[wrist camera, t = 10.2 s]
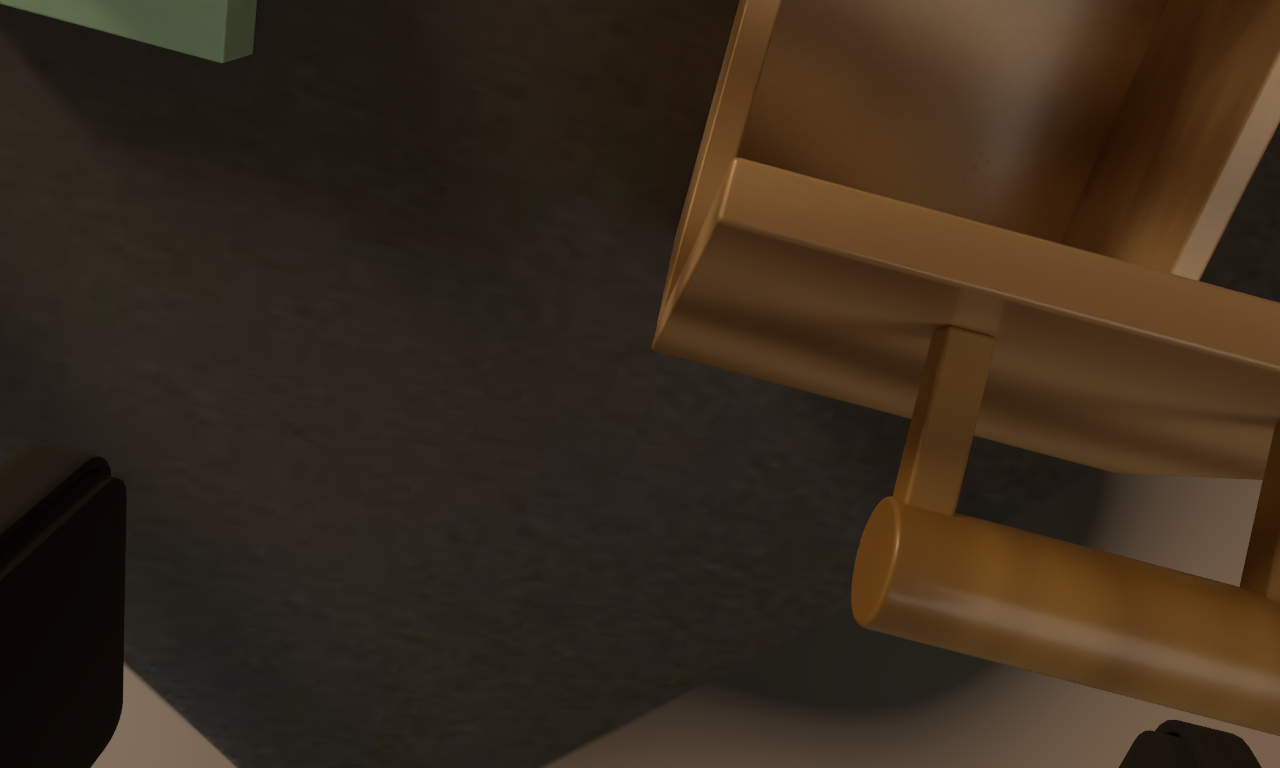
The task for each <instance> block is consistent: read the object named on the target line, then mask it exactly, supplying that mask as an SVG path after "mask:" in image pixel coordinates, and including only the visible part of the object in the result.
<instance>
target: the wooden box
mask: <svg viewBox="0 0 1280 768" xmlns="http://www.w3.org/2000/svg"><path fill="white" fill-rule="evenodd" d="M1279 122H1280V0H740V1H739V5H738V9H737V12H736V16H735V20H734V23H733V27H732V31H731V34H730V38H729V42H728V45H727V49H726V53H725V56H724V60H723V64H722V67H721V71H720V75H719V78H718V82H717V86H716V89H715V93H714V97H713V101H712V104H711V108H710V112H709V115H708V119H707V123H706V126H705V130H704V134H703V137H702V141H701V145H700V148H699V152H698V156H697V159H696V163H695V167H694V170H693V174H692V178H691V181H690V185H689V189H688V192H687V196H686V200H685V203H684V207H683V211H682V215H681V218H680V222H679V226H678V229H677V233H676V237H675V241H674V246H673V251H672V256H671V260H670V265H669V270H668V275H667V280H666V284H665V289H664V294H663V299H662V304H661V308H660V313H659V318H658V322H659V320H660V318H661V316H662V313H663V311H664V309H665V307H666V305H667V302H668V300H669V298H670V296H671V294H672V291H673V289H674V287H675V285H676V283H677V280H678V278H679V276H680V274H681V272H682V269H683V267H684V265H685V263H686V261H687V258H688V256H689V254H690V252H691V250H692V247H693V245H694V243H695V241H696V239H697V236H698V234H699V232H700V230H701V228H702V226H703V223H704V221H705V219H706V217H707V215H708V212H709V210H710V208H711V206H712V204H713V201H714V199H715V197H716V195H717V193H718V190H719V188H720V186H721V184H722V182H723V179H724V177H725V175H726V173H727V171H728V168H729V166H730V164H731V162H732V161H733V159H734V158H743V159H747V160H751V161H755V162H758V163H762V164H766V165H769V166H773V167H777V168H781V169H784V170H788V171H792V172H795V173H799V174H803V175H807V176H810V177H814V178H818V179H821V180H825V181H829V182H833V183H836V184H840V185H844V186H847V187H851V188H855V189H859V190H862V191H866V192H870V193H874V194H877V195H881V196H885V197H888V198H892V199H896V200H900V201H903V202H907V203H911V204H914V205H918V206H922V207H926V208H929V209H933V210H937V211H940V212H944V213H948V214H952V215H955V216H959V217H963V218H966V219H970V220H974V221H978V222H981V223H985V224H989V225H992V226H996V227H1000V228H1004V229H1007V230H1011V231H1015V232H1018V233H1022V234H1026V235H1030V236H1033V237H1037V238H1041V239H1045V240H1048V241H1052V242H1056V243H1059V244H1063V245H1067V246H1071V247H1074V248H1078V249H1082V250H1085V251H1089V252H1093V253H1097V254H1100V255H1104V256H1108V257H1111V258H1115V259H1119V260H1123V261H1126V262H1130V263H1134V264H1137V265H1141V266H1145V267H1149V268H1152V269H1156V270H1160V271H1163V272H1167V273H1171V274H1175V275H1178V276H1182V277H1186V278H1190V279H1193V280H1197V281H1199V280H1200V278H1201V276H1202V274H1203V272H1204V270H1205V268H1206V266H1207V264H1208V262H1209V260H1210V258H1211V256H1212V254H1213V252H1214V250H1215V248H1216V246H1217V244H1218V242H1219V240H1220V238H1221V236H1222V234H1223V232H1224V230H1225V229H1226V227H1227V225H1228V223H1229V221H1230V219H1231V217H1232V215H1233V213H1234V211H1235V209H1236V207H1237V205H1238V203H1239V201H1240V199H1241V197H1242V195H1243V193H1244V191H1245V189H1246V187H1247V185H1248V183H1249V181H1250V179H1251V177H1252V175H1253V173H1254V171H1255V170H1256V168H1257V166H1258V164H1259V162H1260V160H1261V158H1262V156H1263V154H1264V152H1265V150H1266V148H1267V146H1268V144H1269V142H1270V140H1271V138H1272V136H1273V134H1274V132H1275V130H1276V128H1277V126H1278V124H1279ZM657 325H658V323H657Z"/></svg>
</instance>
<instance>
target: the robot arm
mask: <svg viewBox="0 0 1280 768" xmlns="http://www.w3.org/2000/svg"><path fill="white" fill-rule="evenodd" d="M125 549H126V487H125V484H124V482H123V481H122V480H121V479H119V478H115V477H111V470H110V467H109V465H108V462H107V461H106V460H105V459H103V458H102V457H99V456H95V455H91V454H87V453H82V452H78V451H74V450H70V449H66V448H62V447H58V446H54V445H50V444H46V443H33V444H31V445H29V446H27V447H26V448H24V449H23V450H21V451H20V452H19V453H17V454H16V455H15V456H13V457H12V458H11V459H9V460H8V461H7V462H5V463H4V464H3V465H1V466H0V768H91V766H92V765H93V764H94V762H95V761H96V760H97V758H98V757H99V755H100V754H101V753H102V752H103V750H104V749H105V747H106V746H107V745H108V743H109V741H110V740H111V738H112V736H113V734H114V732H115V730H116V727H117V725H118V722H119V719H120V715H121V711H122V704H123V663H124V606H125ZM1119 768H1261V766H1260V764H1259V762H1258V761H1257V759H1256V757H1255V756H1254V754H1253V753H1252V751H1251V750H1250V748H1249V746H1248V745H1247V744H1246V743H1245V742H1244V740H1243V739H1242V738H1240V737H1238V736H1236V735H1234V734H1232V733H1228V732H1224V731H1219V730H1215V729H1211V728H1207V727H1203V726H1199V725H1194V724H1191V723H1187V722H1182V721H1179V720H1167V721H1166V722H1164V723H1162V724H1161V725H1159V727H1158V728H1157V729H1156V730H1155V731H1145V732H1143V733H1141V734H1139V736H1138V737H1137V738H1136V740H1135V741H1134V743H1133V744H1132V746H1131V748H1130V750H1129V751H1128V753H1127V754H1126V756H1125V758H1124V760H1123V761H1122V763H1121V765H1120V767H1119Z"/></svg>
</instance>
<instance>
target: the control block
mask: <svg viewBox="0 0 1280 768" xmlns="http://www.w3.org/2000/svg"><path fill="white" fill-rule="evenodd" d="M0 4H2V5H6V6H10V7H14V8H17V9H21V10H25V11H29V12H32V13H36V14H40V15H43V16H47V17H51V18H55V19H58V20H62V21H66V22H70V23H73V24H77V25H81V26H85V27H88V28H92V29H96V30H99V31H103V32H107V33H111V34H114V35H118V36H122V37H126V38H129V39H133V40H137V41H140V42H144V43H148V44H152V45H155V46H159V47H163V48H167V49H170V50H174V51H178V52H182V53H185V54H189V55H193V56H196V57H200V58H204V59H208V60H211V61H215V62H219V63H225V62H228V61H231V60H235V59H238V58H242V57H245V56H248V55H252V53H253V44H254V32H255V19H256V7H257V0H0Z"/></svg>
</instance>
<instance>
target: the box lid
mask: <svg viewBox="0 0 1280 768" xmlns="http://www.w3.org/2000/svg"><path fill="white" fill-rule="evenodd" d="M652 350H654V351H656V352H660V353H664V354H668V355H671V356H675V357H679V358H683V359H687V360H690V361H694V362H698V363H702V364H705V365H709V366H713V367H717V368H721V369H724V370H728V371H732V372H736V373H739V374H743V375H747V376H751V377H755V378H758V379H762V380H766V381H770V382H773V383H777V384H781V385H785V386H789V387H792V388H796V389H800V390H804V391H807V392H811V393H815V394H819V395H823V396H826V397H830V398H834V399H838V400H842V401H845V402H849V403H853V404H857V405H860V406H864V407H868V408H872V409H876V410H879V411H883V412H887V413H891V414H894V415H898V416H902V417H906V418H910V419H911V424H910V428H909V432H908V436H907V440H906V444H905V448H904V452H903V456H902V461H901V465H900V469H899V473H898V477H897V481H896V485H895V489H894V493H893V496H891V497H886V498H884V499H883V500H881V501H880V503H879V504H878V505H877V507H876V508H875V510H874V511H873V513H872V515H871V516H870V518H869V520H868V523H867V525H866V527H865V530H864V532H863V535H862V538H861V541H860V545H859V548H858V552H857V556H856V561H855V566H854V572H853V579H852V594H851V597H852V611H853V616H854V618H855V621H856V622H857V623H858V624H859V625H860V626H861V627H863V628H866V629H870V630H874V631H878V632H882V633H886V634H889V635H893V636H897V637H901V638H905V639H909V640H912V641H916V642H920V643H924V644H928V645H932V646H935V647H940V648H943V649H947V650H951V651H955V652H958V653H962V654H966V655H970V656H974V657H978V658H982V659H986V660H989V661H993V662H997V663H1001V664H1005V665H1009V666H1012V667H1016V668H1020V669H1024V670H1028V671H1031V672H1035V673H1039V674H1044V675H1047V676H1051V677H1055V678H1059V679H1062V680H1066V681H1070V682H1074V683H1078V684H1081V685H1085V686H1089V687H1093V688H1097V689H1101V690H1105V691H1108V692H1112V693H1116V694H1120V695H1124V696H1128V697H1131V698H1135V699H1139V700H1143V701H1147V702H1151V703H1155V704H1159V705H1162V706H1166V707H1170V708H1174V709H1178V710H1182V711H1185V712H1189V713H1193V714H1197V715H1201V716H1204V717H1208V718H1212V719H1216V720H1220V721H1224V722H1228V723H1232V724H1235V725H1239V726H1243V727H1247V728H1251V729H1255V730H1258V731H1262V732H1266V733H1270V734H1274V735H1277V736H1280V303H1279V302H1275V301H1271V300H1268V299H1264V298H1260V297H1256V296H1253V295H1249V294H1245V293H1242V292H1238V291H1234V290H1230V289H1227V288H1223V287H1219V286H1216V285H1212V284H1208V283H1204V282H1201V281H1197V280H1193V279H1190V278H1186V277H1182V276H1178V275H1175V274H1171V273H1167V272H1163V271H1160V270H1156V269H1152V268H1149V267H1145V266H1141V265H1137V264H1134V263H1130V262H1126V261H1123V260H1119V259H1115V258H1111V257H1108V256H1104V255H1100V254H1097V253H1093V252H1089V251H1085V250H1082V249H1078V248H1074V247H1071V246H1067V245H1063V244H1059V243H1056V242H1052V241H1048V240H1045V239H1041V238H1037V237H1033V236H1030V235H1026V234H1022V233H1018V232H1015V231H1011V230H1007V229H1004V228H1000V227H996V226H992V225H989V224H985V223H981V222H978V221H974V220H970V219H966V218H963V217H959V216H955V215H952V214H948V213H944V212H940V211H937V210H933V209H929V208H926V207H922V206H918V205H914V204H911V203H907V202H903V201H900V200H896V199H892V198H888V197H885V196H881V195H877V194H874V193H870V192H866V191H862V190H859V189H855V188H851V187H847V186H844V185H840V184H836V183H833V182H829V181H825V180H821V179H818V178H814V177H810V176H807V175H803V174H799V173H795V172H792V171H788V170H784V169H781V168H777V167H773V166H769V165H766V164H762V163H758V162H755V161H751V160H747V159H743V158H734V159H733V161H732V162H731V164H730V166H729V168H728V171H727V173H726V175H725V177H724V179H723V182H722V184H721V186H720V188H719V190H718V193H717V195H716V197H715V199H714V201H713V204H712V206H711V208H710V210H709V212H708V215H707V217H706V219H705V221H704V223H703V226H702V228H701V230H700V232H699V234H698V236H697V239H696V241H695V243H694V245H693V247H692V250H691V252H690V254H689V256H688V258H687V261H686V263H685V265H684V267H683V269H682V272H681V274H680V276H679V278H678V280H677V283H676V285H675V287H674V289H673V291H672V294H671V296H670V298H669V300H668V302H667V305H666V307H665V309H664V311H663V313H662V316H661V318H660V320H659V322H658V325H657V329H656V333H655V337H654V340H653V344H652ZM973 435H974V436H978V437H981V438H985V439H989V440H993V441H996V442H1000V443H1004V444H1008V445H1012V446H1015V447H1019V448H1023V449H1027V450H1030V451H1034V452H1038V453H1042V454H1046V455H1049V456H1053V457H1057V458H1061V459H1064V460H1068V461H1072V462H1076V463H1080V464H1083V465H1087V466H1091V467H1095V468H1098V469H1102V470H1106V471H1110V472H1114V473H1129V474H1150V475H1171V476H1192V477H1213V478H1234V479H1255V480H1263V482H1262V487H1261V491H1260V496H1259V500H1258V505H1257V510H1256V514H1255V519H1254V524H1253V528H1252V532H1251V537H1250V542H1249V546H1248V551H1247V556H1246V560H1245V565H1244V569H1243V574H1242V578H1241V583H1240V587H1237V586H1233V585H1230V584H1226V583H1222V582H1218V581H1214V580H1211V579H1207V578H1203V577H1199V576H1195V575H1192V574H1188V573H1184V572H1180V571H1176V570H1173V569H1169V568H1165V567H1161V566H1157V565H1153V564H1150V563H1145V562H1142V561H1138V560H1135V559H1131V558H1127V557H1123V556H1119V555H1115V554H1111V553H1108V552H1104V551H1100V550H1096V549H1093V548H1089V547H1085V546H1081V545H1077V544H1074V543H1070V542H1066V541H1062V540H1058V539H1055V538H1051V537H1047V536H1043V535H1039V534H1036V533H1032V532H1028V531H1024V530H1020V529H1016V528H1013V527H1009V526H1005V525H1001V524H998V523H994V522H990V521H986V520H982V519H979V518H975V517H971V516H967V515H963V514H960V513H956V512H955V510H956V506H957V502H958V498H959V494H960V490H961V485H962V481H963V477H964V473H965V469H966V464H967V460H968V456H969V452H970V448H971V443H972V439H973Z"/></svg>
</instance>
